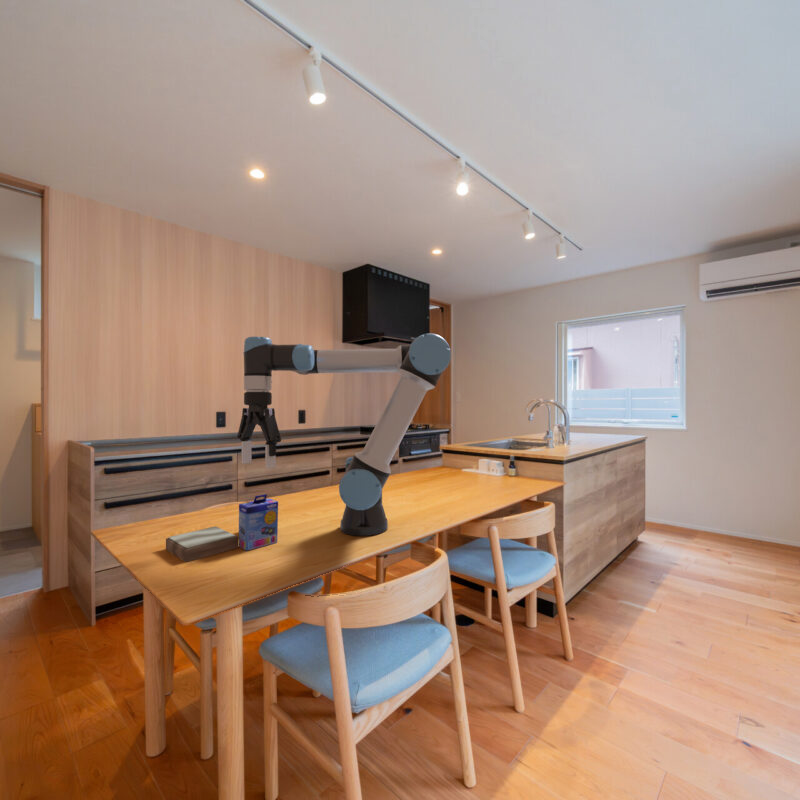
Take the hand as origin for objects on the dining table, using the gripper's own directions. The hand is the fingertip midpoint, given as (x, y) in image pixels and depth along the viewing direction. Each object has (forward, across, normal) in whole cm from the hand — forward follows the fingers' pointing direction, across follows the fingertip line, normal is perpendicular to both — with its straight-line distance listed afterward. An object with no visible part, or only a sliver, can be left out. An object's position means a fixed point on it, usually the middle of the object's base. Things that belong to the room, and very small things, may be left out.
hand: (258, 465), depth 117 cm
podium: (+23, +9, +12) cm, 27 cm away
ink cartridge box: (+23, 0, 0) cm, 23 cm away
